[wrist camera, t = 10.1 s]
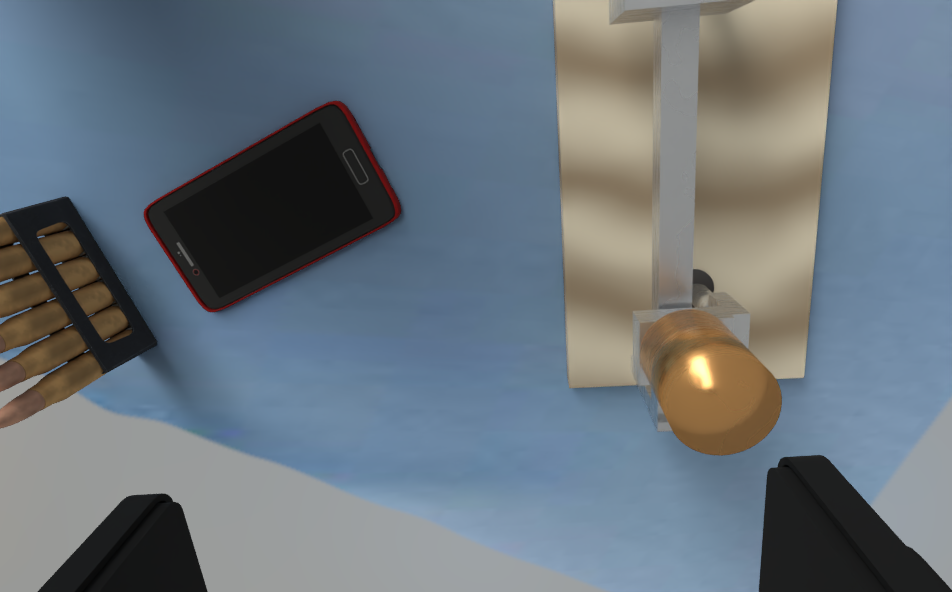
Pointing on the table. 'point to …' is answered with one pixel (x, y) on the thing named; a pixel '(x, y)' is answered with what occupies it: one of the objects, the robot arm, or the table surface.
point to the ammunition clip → (60, 308)
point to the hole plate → (716, 179)
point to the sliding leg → (706, 373)
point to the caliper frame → (672, 147)
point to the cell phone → (274, 208)
